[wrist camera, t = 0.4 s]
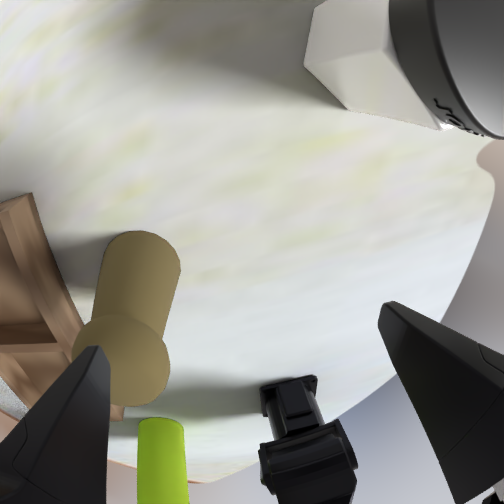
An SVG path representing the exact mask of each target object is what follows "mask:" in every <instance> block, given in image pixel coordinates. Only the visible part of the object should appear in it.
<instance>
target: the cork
mask: <svg viewBox="0 0 504 504" xmlns="http://www.w3.org/2000/svg"><path fill="white" fill-rule="evenodd" d="M180 272H181V269H180V260H179V258H178V256H177V253H176V251H175V249H174V248H173V247H172V246H171V245H170V244H169V243H168V242H167V241H166V240H165V239H163V238H161V237H160V236H158V235H156V234H154V233H150V232H146V231H129V232H126V233H124V234H121V235H119V236H117V237H116V238H115V239H114V240H113V241H111V242H110V243H109V245H108V247H107V249H106V250H105V252H104V256H103V260H102V265H101V269H100V274H99V279H98V284H97V289H96V294H95V299H94V305H93V311H92V317H91V321H90V322H88V323H87V324H86V325H84V326H83V328H82V329H81V330H80V331H79V333H78V335H77V337H76V339H75V341H74V344H73V347H72V351H71V360H72V362H73V361H74V359H75V358H76V357H77V356H78V355H79V354H80V353H81V352H82V351H83V350H84V349H85V348H86V347H87V346H88V345H100V346H101V347H102V349H103V351H104V353H105V355H106V357H107V359H108V361H109V363H110V367H111V384H110V400H111V404H113V405H117V406H127V407H134V406H140V405H145V404H148V403H150V402H152V401H154V400H155V399H156V398H157V397H158V396H159V395H160V394H161V393H162V391H163V390H164V389H165V387H166V384H167V381H168V378H169V374H170V361H169V356H168V352H167V348H166V345H165V343H164V342H163V340H162V337H163V334H164V330H165V326H166V322H167V319H168V315H169V311H170V308H171V304H172V300H173V297H174V293H175V290H176V286H177V283H178V279H179V276H180Z"/></svg>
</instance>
